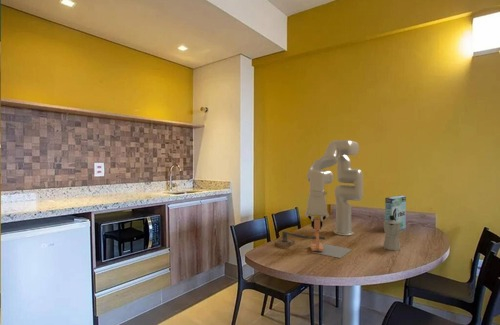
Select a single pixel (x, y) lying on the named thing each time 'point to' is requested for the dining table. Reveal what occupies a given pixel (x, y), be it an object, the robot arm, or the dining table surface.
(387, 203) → the gum box
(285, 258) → the dining table surface
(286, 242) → the stand
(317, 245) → the orange block
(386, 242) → the coffee maker
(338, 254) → the mat
